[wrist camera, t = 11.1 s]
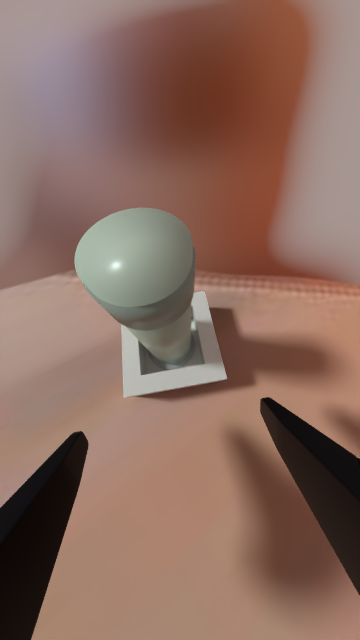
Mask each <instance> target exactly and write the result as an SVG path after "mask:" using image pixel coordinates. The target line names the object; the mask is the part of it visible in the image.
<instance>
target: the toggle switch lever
mask: <svg viewBox="0 0 360 640" xmlns="http://www.w3.org/2000/svg"><path fill="white" fill-rule="evenodd" d="M75 268H76V271H77V274H78V276H79V278H80V280H81V281H82V282H83V285H84V287H85V288H86V290H87V291H88V293H89V294H90V295H91V296H92V297H93V298H94V299H95V300H96V301H97V302H98V303H99V304H100V305H101V306H102V307H103V308H104V309H105V310H106V311H107V312H108V313H109V314H110V315H111V316H112V317H113V318H114V319H115V320H117V321H118V322H119V323H121V324H122V325H124V326H125V327H126V328H127V329H128V330H129V331H130V332H131V333H132V334H133V335H134V336H135V337H136V338H137V339H138V340H139V341H140V342H141V343H142V344H143V345H144V346H145V347H146V348H147V349H148V350H149V351H150V352H151V353H152V354H153V355H154V356H155V357H156V358H157V359H158V360H159V361H160V362H162V363H164V364H168V365H173V364H177V363H180V362H181V361H183V360H184V359H185V358H186V357H187V355H188V354H189V351H190V347H191V303H192V298H193V294H194V278H195V250H194V247H193V242H192V237H191V235H190V232H189V230H188V228H187V227H186V226H185V224H184V223H183V222H182V221H181V220H179V219H178V218H177V217H175V216H174V215H172V214H170V213H168V212H165V211H162V210H158V209H153V208H134V209H127V210H123V211H119V212H116V213H114V214H111V215H109V216H107V217H105V218H103V219H102V220H100V221H98V222H97V223H96V224H94V225H93V226H92V227H91V228H90V229H89V230H88V231H87V232H86V233H85V234H84V236H83V238H82V239H81V241H80V242H79V244H78V246H77V249H76V253H75Z"/></svg>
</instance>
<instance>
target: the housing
mask: <svg viewBox="0 0 360 640" xmlns="http://www.w3.org/2000/svg"><path fill="white" fill-rule="evenodd" d="M121 332H122V360H123V389H124V398H125V397H136V396H142V395H147V394H153V393H158V392H164V391H169V390H175V389H181V388H186V387H192V386H197V385H203V384H208V383H214V382H219V381H223V380H226V379H227V376H226V372H225V368H224V364H223V361H222V357H221V353H220V349H219V345H218V341H217V338H216V334H215V330H214V326H213V322H212V318H211V314H210V311H209V307H208V303H207V299H206V295H205V291H201V292H196V293H194V294H193V298H192V303H191V347H190V351H189V354H188V355H187V357H186V358H185V359H184V360H183V361H181V362H180V363H177V364H173V365H168V364H164V363H162V362H160V361H159V360H158V359H157V358H156V357H155V356H154V355H153V354H152V353H151V352H150V351H149V350H148V349H147V348H146V347H145V346H144V345H143V344H142V343H141V342H140V341H139V340H138V339H137V338H136V337H135V336H134V335H133V334H132V333H131V332H130V331H129V330H128V329H127V328H126V327H125V326H124V325H122V324H121Z"/></svg>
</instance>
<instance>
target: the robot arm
mask: <svg viewBox="0 0 360 640" xmlns="http://www.w3.org/2000/svg"><path fill="white" fill-rule="evenodd" d="M260 412H261V415H262V417H263V419H264V422H265V424H266V426H267V428H268V431H269V433H270V435H271V437H272V439H273V442H274V444H275V446H276V448H277V450H278V452H279V454H280V455H281V457H282V459H283V461H284V462H285V464H286V466H287V468H288V470H289V471H290V473H291V475H292V477H293V478H294V480H295V482H296V484H297V485H298V487H299V489H300V491H301V493H302V494H303V496H304V498H305V500H306V501H307V503H308V505H309V507H310V509H311V510H312V512H313V514H314V516H315V517H316V519H317V521H318V523H319V524H320V526H321V528H322V530H323V532H324V533H325V535H326V537H327V539H328V540H329V542H330V544H331V546H332V547H333V549H334V551H335V553H336V555H337V556H338V558H339V560H340V562H341V563H342V565H343V567H344V569H345V570H346V572H347V574H348V576H349V578H350V579H351V581H352V583H353V585H354V586H355V588H356V590H357V592H358V593H359V595H360V459H359V458H357V457H356V456H355V455H353V454H352V453H350V452H349V451H348V450H346V449H345V448H343V447H342V446H340V445H339V444H337V443H336V442H334V441H333V440H331V439H330V438H328V437H327V436H326V435H324V434H323V433H321V432H320V431H318V430H317V429H315V428H314V427H312V426H311V425H309V424H308V423H307V422H305V421H304V420H302V419H301V418H299V417H298V416H296V415H295V414H293V413H292V412H290V411H289V410H287V409H286V408H285V407H283V406H282V405H280V404H279V403H277V402H276V401H274V400H273V399H271V398H269V397H266V398H262V399H261V402H260ZM87 450H88V440H87V439H86V437H85V435H84V433H83V432H82V431H79V432H74V433H72V434H71V435H70V436H69V437H68V438H67V439H66V440H65V441H64V443H63V444H62V445H61V446H60V447H59V448H58V449H57V450H56V451H55V452H54V453H53V454H52V455H51V456H50V457H49V458H48V459H47V460H46V461H45V462H44V463H43V464H42V465H41V466H40V467H39V468H38V469H37V471H36V472H35V473H34V474H33V475H32V476H31V477H30V478H29V479H28V480H27V481H26V482H25V483H24V484H23V485H22V486H21V487H20V488H19V489H18V490H17V491H16V492H15V493H14V494H13V495H12V496H11V497H10V499H9V500H8V501H7V502H6V503H5V504H4V505H3V506H2V507H1V508H0V640H31V638H32V635H33V632H34V628H35V625H36V622H37V619H38V616H39V613H40V609H41V606H42V603H43V600H44V597H45V593H46V590H47V587H48V584H49V581H50V578H51V574H52V571H53V568H54V565H55V562H56V559H57V555H58V552H59V549H60V546H61V543H62V539H63V536H64V533H65V530H66V527H67V524H68V520H69V517H70V514H71V511H72V508H73V504H74V501H75V498H76V495H77V492H78V488H79V485H80V481H81V477H82V472H83V468H84V464H85V459H86V455H87Z"/></svg>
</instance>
